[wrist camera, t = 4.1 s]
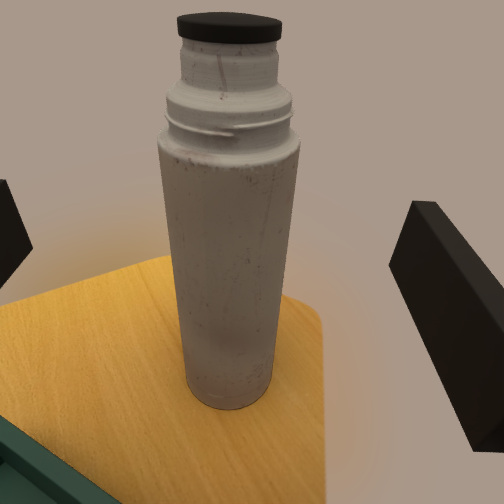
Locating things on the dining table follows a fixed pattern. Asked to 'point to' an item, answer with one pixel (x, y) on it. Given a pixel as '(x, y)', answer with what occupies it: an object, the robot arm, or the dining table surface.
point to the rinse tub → (40, 474)
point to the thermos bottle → (228, 201)
